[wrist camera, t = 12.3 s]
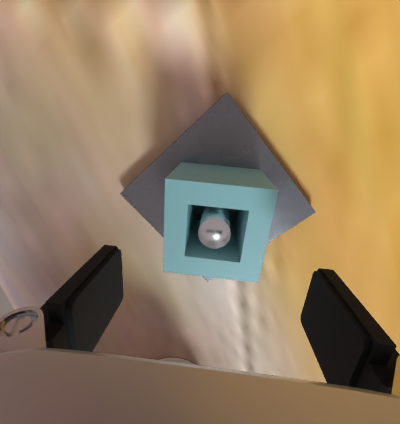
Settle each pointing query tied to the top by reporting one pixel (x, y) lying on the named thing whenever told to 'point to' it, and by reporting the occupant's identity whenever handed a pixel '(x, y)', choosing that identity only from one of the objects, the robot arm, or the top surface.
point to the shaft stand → (222, 156)
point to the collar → (240, 231)
